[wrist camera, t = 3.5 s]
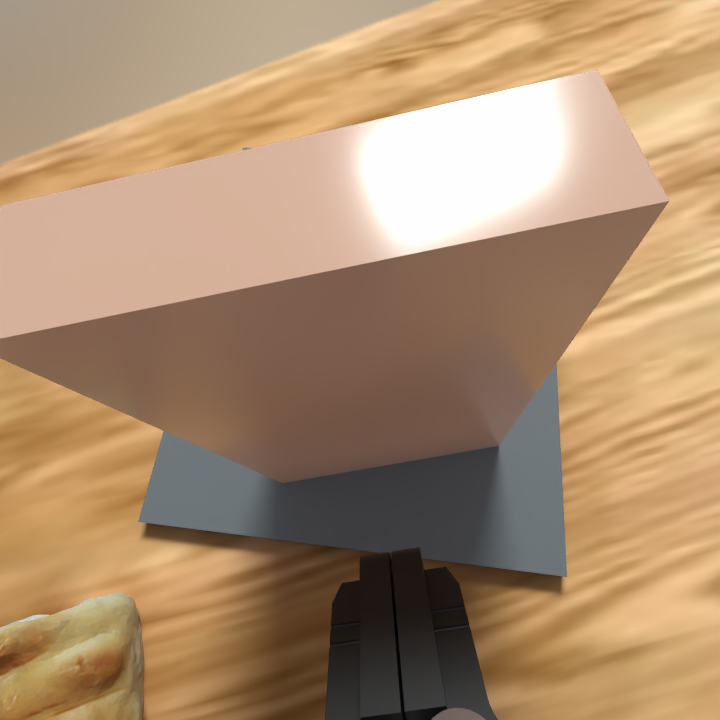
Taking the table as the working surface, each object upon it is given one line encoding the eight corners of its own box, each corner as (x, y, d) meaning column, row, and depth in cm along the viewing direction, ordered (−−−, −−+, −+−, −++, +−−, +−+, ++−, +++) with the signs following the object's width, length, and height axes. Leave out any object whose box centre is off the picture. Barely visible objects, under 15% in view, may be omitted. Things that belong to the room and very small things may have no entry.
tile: (498, 445, 18) (669, 201, 5) (282, 483, 19) (-31, 344, 6) (483, 387, 19) (593, 62, 6) (278, 424, 20) (3, 198, 7)
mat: (146, 522, 20) (138, 521, 19) (246, 156, 27) (243, 148, 27) (562, 576, 17) (566, 576, 16) (542, 148, 24) (545, 139, 24)
